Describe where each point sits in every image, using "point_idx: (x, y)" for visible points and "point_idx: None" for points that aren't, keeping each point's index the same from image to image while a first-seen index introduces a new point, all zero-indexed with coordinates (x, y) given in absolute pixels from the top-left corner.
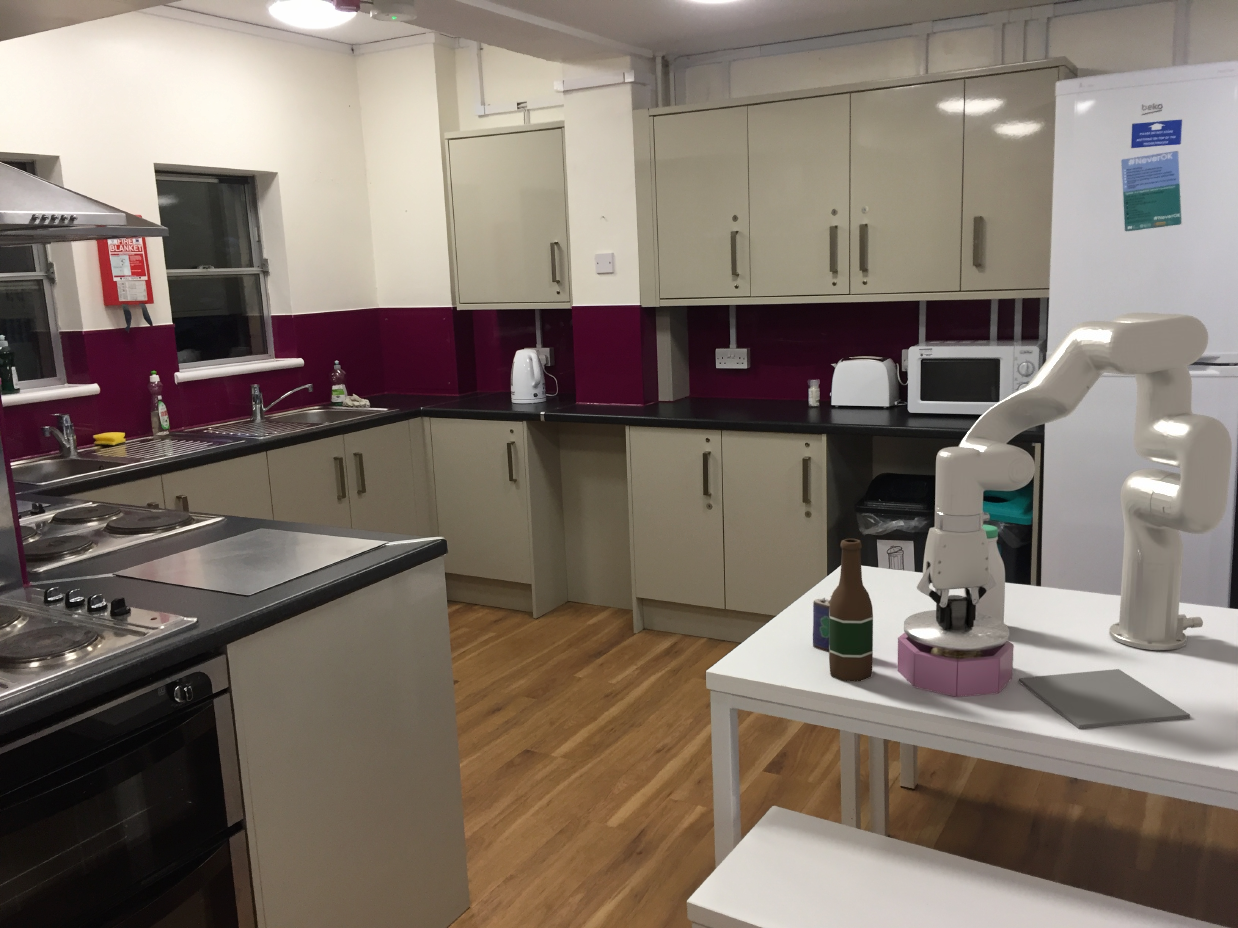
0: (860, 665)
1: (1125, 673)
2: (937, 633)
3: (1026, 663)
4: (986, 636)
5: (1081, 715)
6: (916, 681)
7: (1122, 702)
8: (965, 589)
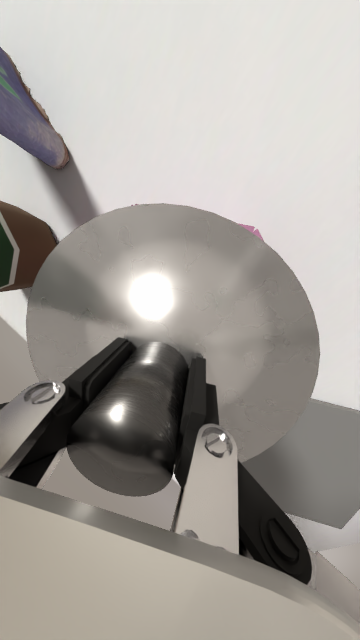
0: (6, 290)
1: None
2: None
3: (325, 338)
4: None
5: None
6: None
7: (304, 486)
8: (181, 504)
